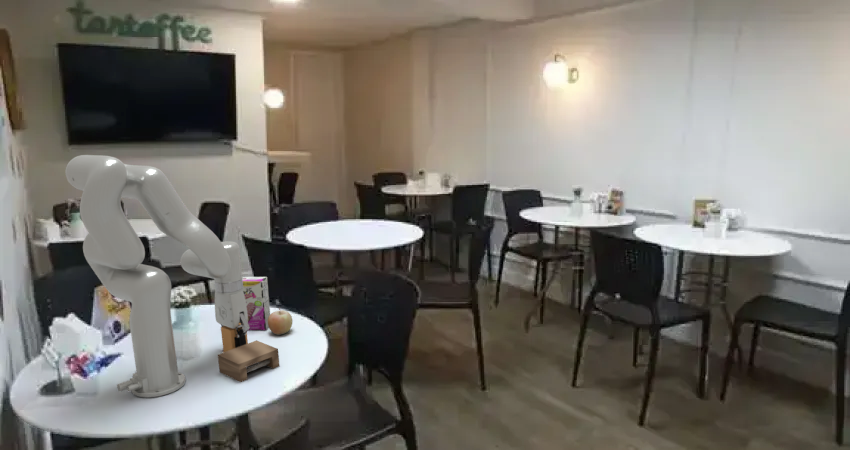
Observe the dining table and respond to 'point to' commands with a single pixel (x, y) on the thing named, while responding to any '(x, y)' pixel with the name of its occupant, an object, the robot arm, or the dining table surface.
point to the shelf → (247, 359)
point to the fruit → (280, 322)
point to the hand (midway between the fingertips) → (235, 346)
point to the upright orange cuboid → (229, 338)
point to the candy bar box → (257, 302)
